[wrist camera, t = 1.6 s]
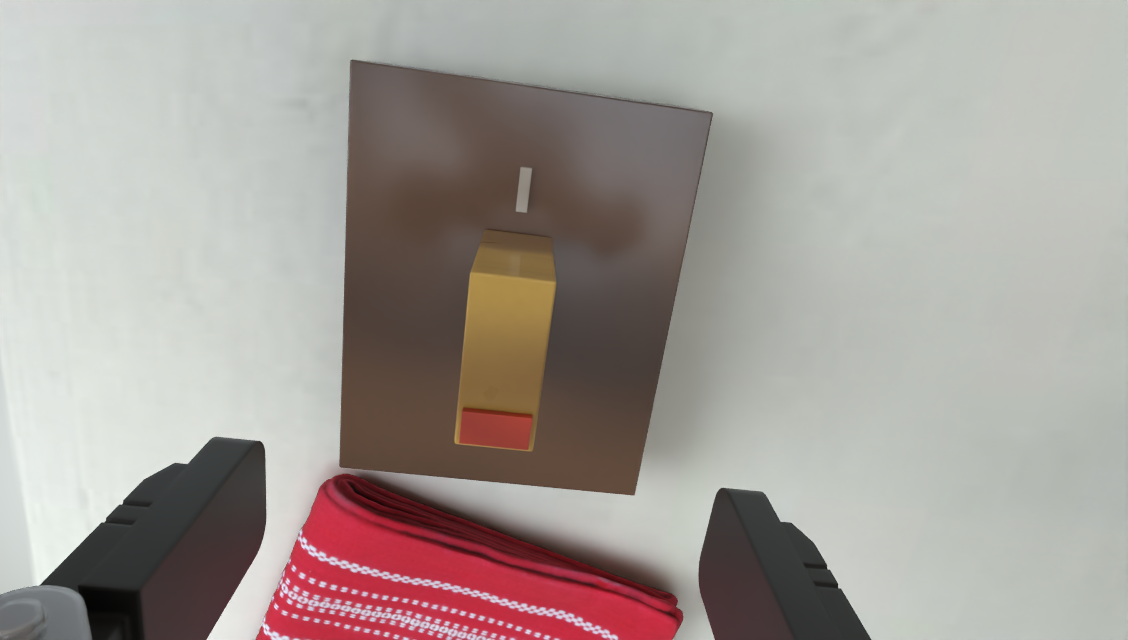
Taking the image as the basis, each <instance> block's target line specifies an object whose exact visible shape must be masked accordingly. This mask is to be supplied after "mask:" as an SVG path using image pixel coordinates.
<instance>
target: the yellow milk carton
mask: <svg viewBox="0 0 1128 640" xmlns="http://www.w3.org/2000/svg"><path fill="white" fill-rule="evenodd" d="M555 291H556V274H555V263H554V253H553V242H552V238H550V237H542V236H534V235H526V234H518V233H510V232H503V231H495V230H485V231H484V234H483V237H482V240H481V243H480V246H479V248H478V251H477V254H476V257H475V260H474V263H473V266H472V269H471V272H470V278H469V288H468V299H467V310H466V320H465V331H464V342H463V352H462V363H461V374H460V384H459V395H458V406H457V417H456V427H455V438H454V442H455V444H460V445H470V446H480V447H490V448H500V449H510V450H520V451H532V450H533V447H534V440H535V433H536V426H537V419H538V412H539V405H540V398H541V390H542V383H543V376H544V369H545V362H546V355H547V348H548V341H549V333H550V326H551V319H552V312H553V305H554V298H555Z"/></svg>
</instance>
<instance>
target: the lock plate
mask: <svg viewBox="0 0 1128 640" xmlns="http://www.w3.org/2000/svg"><path fill="white" fill-rule="evenodd" d="M712 116H713V113H712V112H708V111H703V110H698V109H693V108H687V107H680V106H674V105H667V104H660V103H653V102H646V101H639V100H633V99H626V98H619V97H612V96H605V95H598V94H592V93H585V92H578V91H571V90H564V89H557V88H551V87H544V86H537V85H530V84H523V83H516V82H510V81H503V80H496V79H489V78H482V77H475V76H469V75H462V74H455V73H448V72H441V71H434V70H428V69H421V68H414V67H407V66H400V65H393V64H387V63H380V62H372V61H361V60H351V61H350V93H349V130H348V167H347V204H346V241H345V278H344V316H343V353H342V390H341V427H340V464H339V466H340V467H343V468H354V469H364V470H375V471H385V472H396V473H406V474H416V475H427V476H437V477H448V478H458V479H469V480H479V481H489V482H500V483H510V484H521V485H531V486H542V487H552V488H562V489H573V490H583V491H594V492H604V493H615V494H625V495H635V491H636V486H637V481H638V476H639V471H640V466H641V461H642V457H643V452H644V447H645V442H646V437H647V432H648V427H649V422H650V418H651V413H652V408H653V403H654V398H655V393H656V388H657V384H658V379H659V374H660V369H661V364H662V359H663V354H664V349H665V345H666V340H667V335H668V330H669V325H670V320H671V315H672V311H673V306H674V301H675V296H676V291H677V286H678V281H679V276H680V272H681V267H682V262H683V257H684V252H685V247H686V242H687V238H688V233H689V228H690V223H691V218H692V213H693V208H694V203H695V199H696V194H697V189H698V184H699V179H700V174H701V169H702V165H703V160H704V155H705V150H706V145H707V140H708V135H709V130H710V126H711V121H712ZM485 230H495V231H503V232H510V233H518V234H526V235H534V236H542V237H550V238H552V242H553V253H554V263H555V274H556V291H555V298H554V305H553V312H552V319H551V326H550V333H549V341H548V348H547V355H546V362H545V369H544V376H543V383H542V390H541V398H540V405H539V412H538V419H537V426H536V433H535V440H534V447H533V450H532V451H520V450H510V449H500V448H490V447H480V446H470V445H460V444H455V442H454V438H455V427H456V417H457V406H458V395H459V384H460V374H461V363H462V352H463V342H464V331H465V320H466V310H467V299H468V288H469V278H470V272H471V269H472V266H473V263H474V260H475V257H476V254H477V251H478V248H479V246H480V243H481V240H482V237H483V234H484V231H485Z"/></svg>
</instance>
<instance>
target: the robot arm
mask: <svg viewBox="0 0 1128 640" xmlns="http://www.w3.org/2000/svg"><path fill="white" fill-rule="evenodd" d="M265 525H266V470H265V448H264V445H263V443H262V442H261V441H253V440H243V439H233V438H223V437H214V438H212V439H211V440H210V441H209V442H208V443H207V444H206V445H205V446H204V447H203V448H202V449H201V450H200V451H199V452H198V454H197V455H196V456H195V457H194V458H193V459H192V460H191V461H190V462H189V463H188V464H180V463H174V464H172V465H170V466H168V467H166V468H165V469H163V470H161V471H159V472H157V473H155V474H153V475H152V476H150V477H148V478H146V479H144V480H143V481H142V482H141V483H140V484H139V485H138V486H137V487H136V488H135V489H134V490H133V491H132V492H131V493H130V494H129V495H128V496H127V497H126V498H125V499H124V500H123V504H122V505H119V506H118V507H117V508H116V509H115V510H114V511H113V512H112V513H111V514H110V515H109V516H108V517H107V518H106V521H105V523H101V524H100V525H99V526H98V527H97V528H96V529H95V530H94V531H93V532H92V533H91V534H90V535H89V536H88V537H87V538H86V539H85V540H84V541H83V542H82V543H81V544H80V545H79V546H78V547H77V548H76V549H75V550H74V551H73V552H72V553H71V554H70V555H69V556H68V557H67V558H66V559H65V560H64V561H63V562H62V563H61V564H60V565H59V566H58V567H57V568H56V569H55V570H54V571H53V572H52V573H51V574H50V575H49V576H48V577H47V578H46V579H45V580H44V581H43V583H42V584H41V585H40V586H32V587H26V588H22V589H18V590H13V591H10V592H7V593H4V594H1V595H0V640H206V639H207V638H208V636H209V634H210V633H211V631H212V629H213V627H214V626H215V624H216V622H217V621H218V619H219V617H220V616H221V614H222V612H223V611H224V609H225V607H226V606H227V604H228V602H229V601H230V599H231V597H232V595H233V594H234V592H235V590H236V589H237V587H238V585H239V584H240V582H241V580H242V579H243V577H244V575H245V574H246V572H247V570H248V569H249V567H250V565H251V564H252V562H253V560H254V558H255V557H256V555H257V553H258V551H259V548H260V546H261V543H262V540H263V536H264V531H265ZM699 587H700V593H701V597H702V600H703V603H704V606H705V609H706V612H707V616H708V619H709V622H710V625H711V628H712V632H713V635H714V638H715V640H871V638H870V637H869V635H868V633H867V632H866V630H865V628H864V627H863V625H862V623H861V622H860V620H859V618H858V617H857V615H856V613H855V612H854V610H853V608H852V606H851V605H850V603H849V601H848V600H847V598H846V596H845V595H844V593H843V591H842V590H841V589H838V583H837V581H836V579H835V578H834V576H833V574H832V573H831V571H830V570H827V564H826V563H825V561H824V559H823V558H822V556H821V554H820V552H819V551H818V549H817V547H816V546H815V544H814V543H813V542H812V541H811V540H810V539H809V538H808V537H807V536H805V535H804V534H803V533H802V532H801V531H800V530H799V529H798V528H797V527H795V526H794V525H793V524H792V523H788V522H780V520H779V518H778V516H777V515H776V513H775V511H774V509H773V507H772V505H771V504H770V502H769V500H768V498H767V496H766V495H765V494H764V493H763V492H759V491H749V490H739V489H729V488H721V489H719V491H718V492H717V494H716V497H715V500H714V504H713V508H712V512H711V516H710V520H709V524H708V528H707V532H706V536H705V540H704V544H703V548H702V552H701V556H700V561H699Z"/></svg>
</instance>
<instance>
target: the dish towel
mask: <svg viewBox="0 0 1128 640" xmlns="http://www.w3.org/2000/svg"><path fill="white" fill-rule="evenodd" d="M677 603H678V600H677V598H676V597H675V596H674V595H672V594H670V593H666V592H662V591H659V590H656V589H654V588H651V587H647V586H644V585H641V584H638V583H636V582H633V581H631V580H628V579H625V578H621V577H618V576H616V575H612V574H610V573H607V572H605V571H602V570H599V569H597V568H594V567H592V566H589V565H586V564H583V563H581V562H578V561H575V560H573V559H570V558H567V557H565V556H562V555H559V554H557V553H554V552H552V551H549V550H546V549H543V548H540V547H538V546H535V545H532V544H529V543H526V542H523V541H520V540H517V539H514V538H512V537H509V536H507V535H504V534H502V533H499V532H497V531H494V530H491V529H487V528H485V527H482V526H480V525H478V524H475V523H473V522H470V521H467V520H465V519H462V518H459V517H456V516H453V515H450V514H447V513H444V512H441V511H439V510H436V509H433V508H431V507H428V506H426V505H423V504H419V503H417V502H414V501H412V500H409V499H406V498H404V497H401V496H399V495H396V494H394V493H391V492H389V491H387V490H384V489H382V488H380V487H377V486H375V485H373V484H371V483H369V482H367V481H365V480H363V479H362V478H359V477H357V476H354V475H350V474H341V475H337V476H335V477H333V478H332V479H328V480H326V481H325V482H324V483H323V484H322V485H321V487H320V488H319V490H318V494H317V497H316V499H315V501H314V503H313V506H312V508H311V512H310V515H309V517H308V519H307V521H306V523H305V524H304V526H303V527H302V528H301V530H300V531H299V534H298V537H297V540H296V542H295V545H294V548H293V551H292V553H291V556H290V558H289V561H288V563H287V565H286V567H285V569H284V570H283V572H282V575H281V578H280V581H279V584H278V587H277V589H276V591H275V593H274V595H273V596H272V600H271V603H270V606H269V609H268V612H267V613H266V615H265V616H264V619H263V622H262V626H261V628H260V631H259V634H258V635H257V637H256V640H672V639H673V638H674V636H675V634H676V632H677V630H678V628H679V627H680V625H681V623H682V621H683V613H682V611H681V610H680V609H678V608H677V607H676V606H677Z"/></svg>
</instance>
